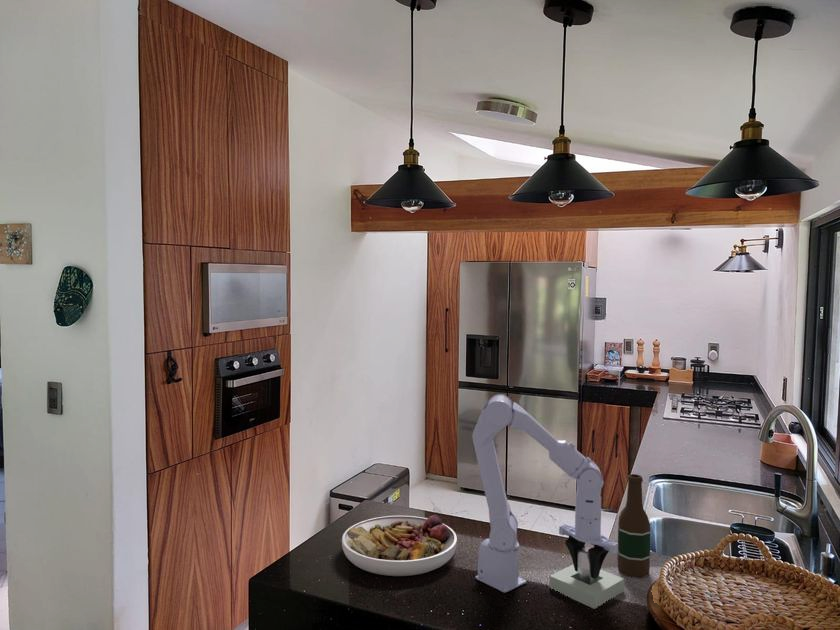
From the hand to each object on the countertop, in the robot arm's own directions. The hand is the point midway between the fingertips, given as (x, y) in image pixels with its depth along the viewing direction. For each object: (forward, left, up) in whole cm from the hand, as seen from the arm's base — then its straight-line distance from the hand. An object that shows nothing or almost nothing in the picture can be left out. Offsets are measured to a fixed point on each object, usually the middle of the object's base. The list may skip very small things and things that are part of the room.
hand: (586, 573), depth 142 cm
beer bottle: (+2, +17, -4) cm, 18 cm away
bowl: (-43, -21, -4) cm, 48 cm away
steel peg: (0, 0, -2) cm, 3 cm away
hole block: (0, 0, -4) cm, 4 cm away
